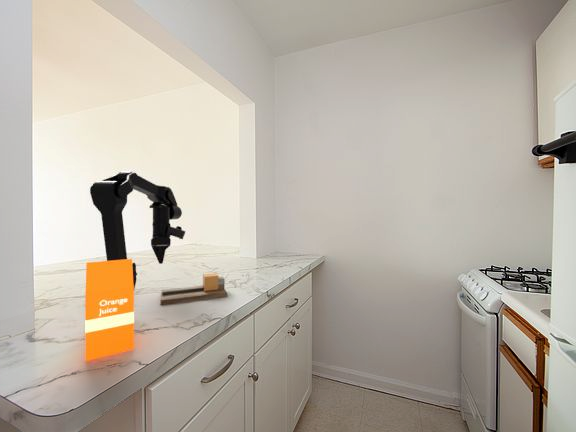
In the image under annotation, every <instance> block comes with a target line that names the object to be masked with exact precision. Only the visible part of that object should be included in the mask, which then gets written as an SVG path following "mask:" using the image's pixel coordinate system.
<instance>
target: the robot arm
mask: <svg viewBox="0 0 576 432" xmlns="http://www.w3.org/2000/svg"><path fill="white" fill-rule="evenodd" d="M133 191H137V192H138V193H140V194H141V193H142V194H143V195H146V197H147V199H148V200H149V201H151V202H152V204H150V205H149V209H152V222H151V223H152V237H151V239H150V246H151V249H152V250H153V253H154V256H155V258H156V259H157V262H158V264H159V265H161V264H164V259H165V254H166V250H167V249H168V248H169V247H170V246H171V236H172V237H175V238H178V239H180V240H183V239H184V237H185V235H186V230H183V229H182V226H178V225H177V226H176V227H173V226H171V223H170V220H178V219H180V218H181V217H182V214H183V211H182V209H181V208H180V206H178V203H177V199H176V197H175V195H174V192H173V190H172V189H171V187H169V186H164V185H158V184H155V183H153V182H151V181H149V180H147V179H146V178H143V176H140V175H138V174H137V172H134V171H120V172H117V173H116V174H114V175H111V176H108V177H106V178H103V179H101V180H99V181H95V182H94V183H93V184H92V185H91V186H90V188H89V194H90V197H91V200H92V204H93V205H94V207H95V208H96V209H97V211H98V212H99V213H100V215H101V217H100V218H101V223H102V231H103V239H104V247H105V256H106V261H112V260H124V259H128V257H127V256H128V254H127V247H126V246H127V245H126V238H125V237H126V236H125V229H124V228H125V226H124V218H123V217H124V216H123V210H124V209H125V208H126V205H127V204H128V195H130V194H131V193H132V192H133ZM132 267H133V285H134V290H135V288H136V284H137V276H138V273H137V264H136V263H135V262H133V261H132Z"/></svg>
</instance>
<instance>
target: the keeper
mask: <svg viewBox="0 0 576 432" xmlns="http://www.w3.org/2000/svg"><path fill="white" fill-rule="evenodd" d="M218 277H219V275H218V274H217V272H213V273H212V272H211V273H202V286H203V287H204V291H209V290H218Z"/></svg>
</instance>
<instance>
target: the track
mask: <svg viewBox="0 0 576 432" xmlns="http://www.w3.org/2000/svg"><path fill="white" fill-rule="evenodd" d="M225 281H226V280H225V277H224V276H218V290H209V291H204V287H203V285H199V286H198V285H195V286H189V287H180V288H171V289H161V290H160V305H161V306H163V305H169V304H177V303H178V304H180V303H187V302H194V301H201V300H202V301H203V300H208V299H209V300H210V299H216V298H224V297H225V298H226V297H228V292H227V291H226V289H225Z"/></svg>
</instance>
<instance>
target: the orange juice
mask: <svg viewBox="0 0 576 432" xmlns="http://www.w3.org/2000/svg"><path fill="white" fill-rule="evenodd" d="M132 262H133V258H127V259H124V260H112V261H107V260H102V261H101V260H100V261H89V262H86V267H85V268H86V270H85V291H84V292H85V293H84V294H85V295H84V296H85V298H84V299H85V301H84V302H85V306H84V308H85V309H84V310H85V313H84V314H85V318H84V319H85V320H84V326H85V327H84V333H85V362H89V361H92V360H96V359H100V358H104V357H108V356H112V355H116V354H119V353H124V352H127V351H132V350H135V304H134V303H135V295H134V294H135V289H134V285H133V267H132Z"/></svg>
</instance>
